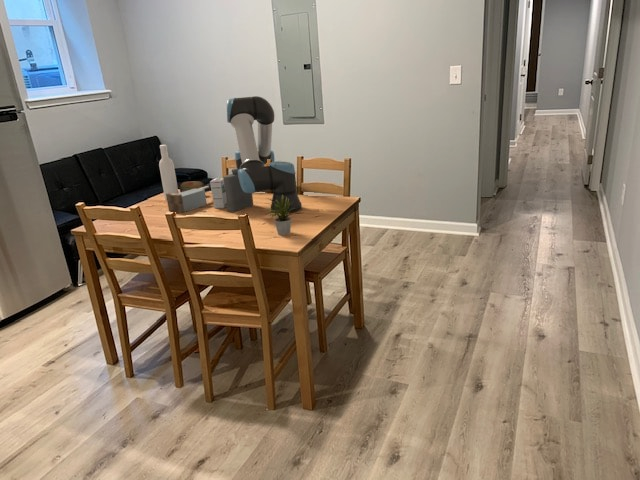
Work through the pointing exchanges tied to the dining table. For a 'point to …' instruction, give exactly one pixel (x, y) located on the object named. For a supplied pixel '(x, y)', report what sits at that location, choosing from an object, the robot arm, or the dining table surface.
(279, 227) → the house plant
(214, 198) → the syrup box
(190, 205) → the slate block
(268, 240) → the dining table surface
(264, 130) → the robot arm
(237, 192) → the flask
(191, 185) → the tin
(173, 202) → the walnut board
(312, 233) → the dining table surface
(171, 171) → the bottle
